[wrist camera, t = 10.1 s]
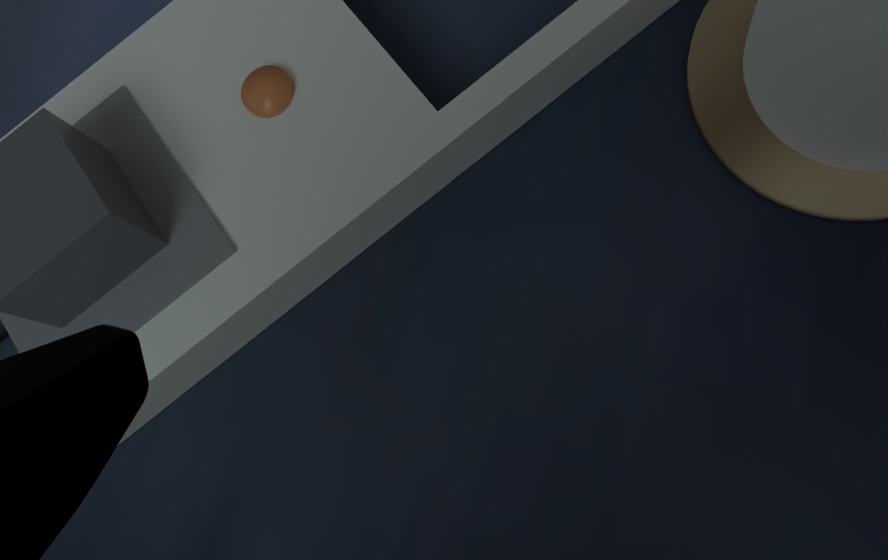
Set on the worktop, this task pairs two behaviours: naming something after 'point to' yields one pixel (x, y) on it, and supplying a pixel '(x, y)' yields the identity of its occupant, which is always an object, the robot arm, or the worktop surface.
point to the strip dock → (284, 158)
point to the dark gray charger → (65, 222)
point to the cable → (2, 330)
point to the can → (822, 78)
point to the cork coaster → (765, 129)
